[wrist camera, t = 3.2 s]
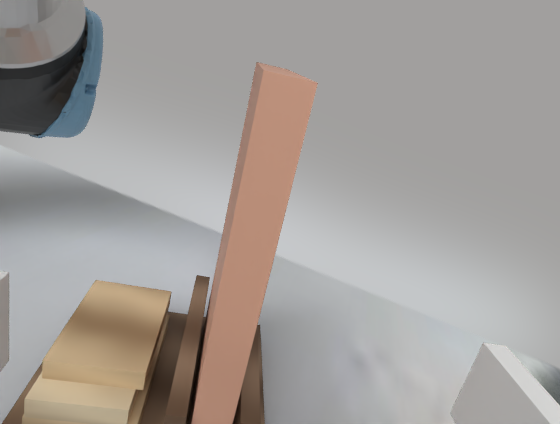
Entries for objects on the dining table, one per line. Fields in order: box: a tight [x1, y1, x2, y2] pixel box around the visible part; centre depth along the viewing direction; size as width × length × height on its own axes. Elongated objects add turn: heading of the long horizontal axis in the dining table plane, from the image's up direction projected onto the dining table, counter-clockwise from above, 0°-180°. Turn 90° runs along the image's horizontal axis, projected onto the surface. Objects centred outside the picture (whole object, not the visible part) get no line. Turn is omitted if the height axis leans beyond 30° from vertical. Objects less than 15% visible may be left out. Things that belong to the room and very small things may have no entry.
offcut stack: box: [22, 280, 171, 424], centre depth 26 cm, size 10×6×4 cm, turn 5°
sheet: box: [189, 62, 318, 424], centre depth 24 cm, size 12×2×20 cm, turn 5°
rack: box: [2, 275, 265, 424], centre depth 26 cm, size 14×14×6 cm
